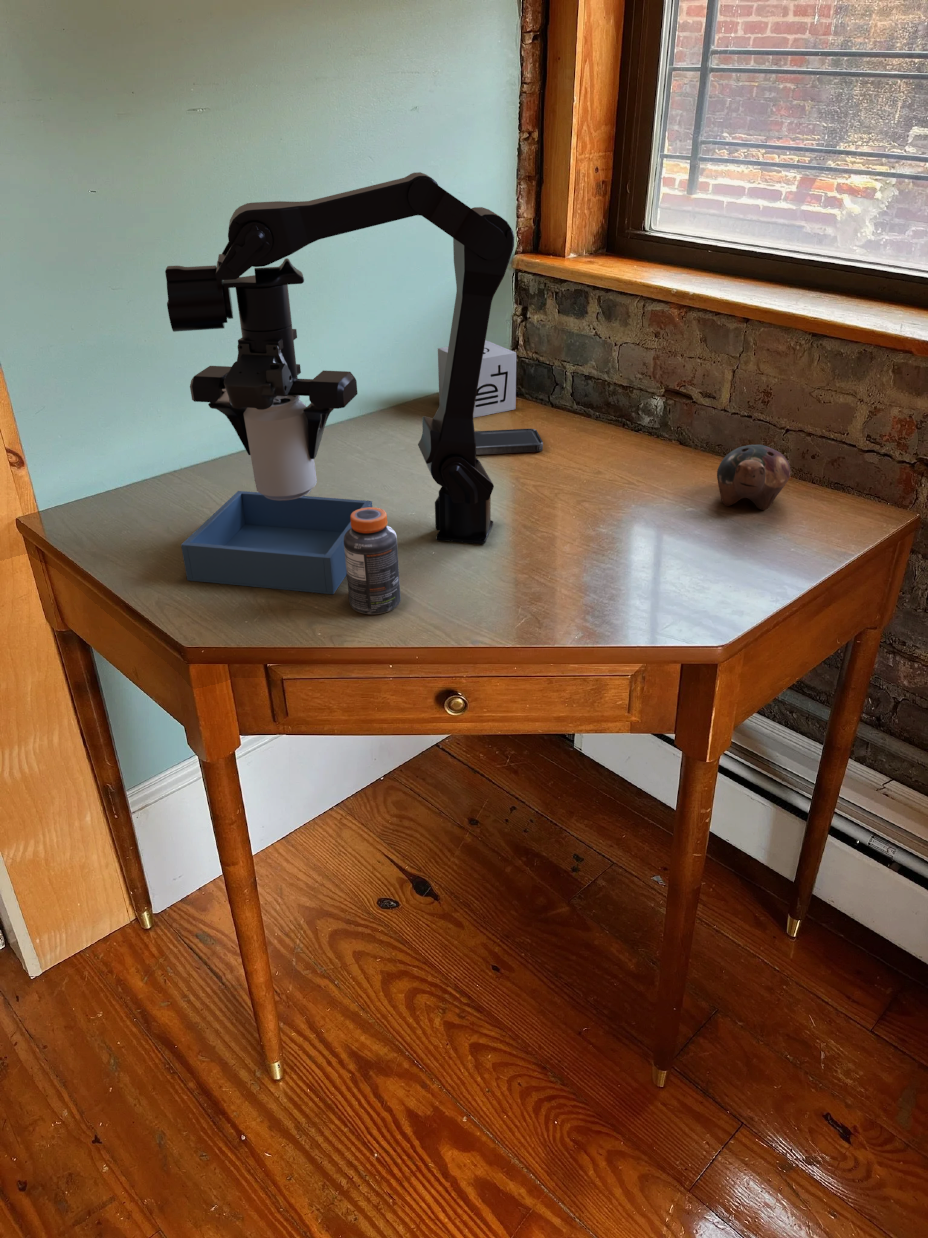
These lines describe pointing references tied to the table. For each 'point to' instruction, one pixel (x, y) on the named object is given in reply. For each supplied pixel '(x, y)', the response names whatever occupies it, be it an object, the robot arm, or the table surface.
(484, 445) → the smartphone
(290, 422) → the can
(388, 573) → the pill bottle
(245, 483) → the table surface
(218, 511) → the tub
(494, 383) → the icon cube
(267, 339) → the robot arm
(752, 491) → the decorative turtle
